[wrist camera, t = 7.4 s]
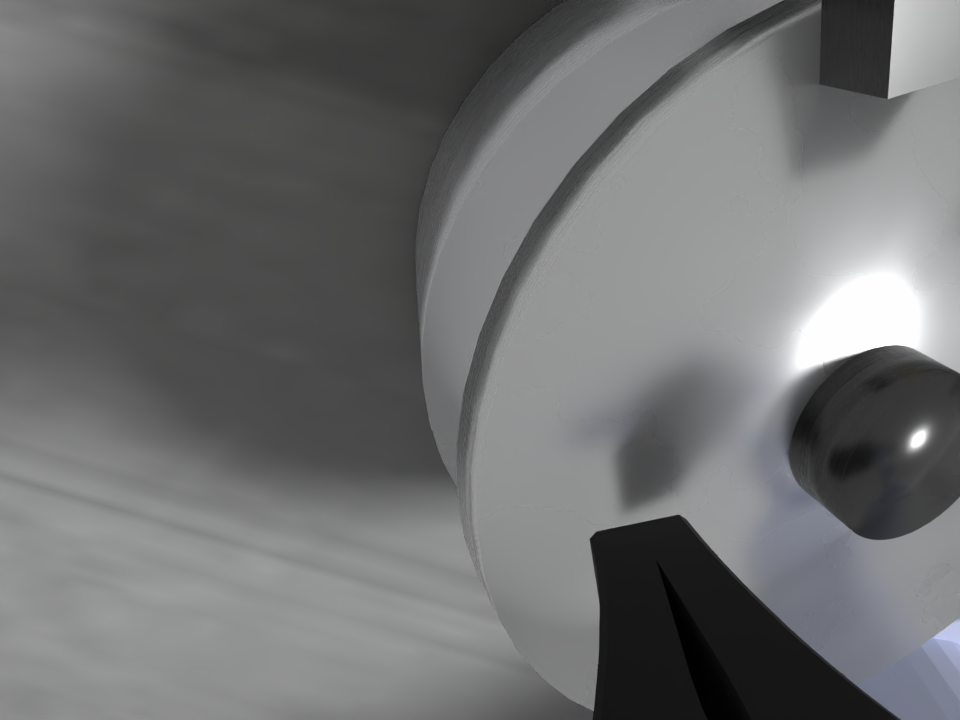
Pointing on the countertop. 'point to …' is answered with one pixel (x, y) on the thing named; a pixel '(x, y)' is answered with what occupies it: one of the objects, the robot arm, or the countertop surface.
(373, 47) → the countertop surface
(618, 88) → the pot
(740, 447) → the lid
